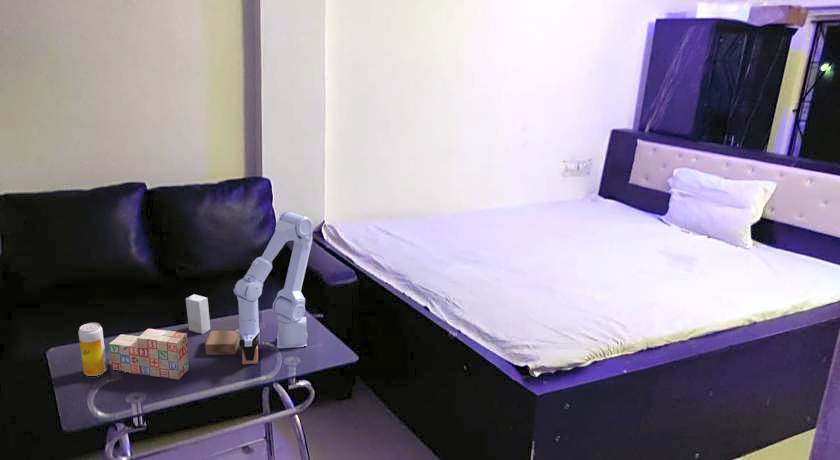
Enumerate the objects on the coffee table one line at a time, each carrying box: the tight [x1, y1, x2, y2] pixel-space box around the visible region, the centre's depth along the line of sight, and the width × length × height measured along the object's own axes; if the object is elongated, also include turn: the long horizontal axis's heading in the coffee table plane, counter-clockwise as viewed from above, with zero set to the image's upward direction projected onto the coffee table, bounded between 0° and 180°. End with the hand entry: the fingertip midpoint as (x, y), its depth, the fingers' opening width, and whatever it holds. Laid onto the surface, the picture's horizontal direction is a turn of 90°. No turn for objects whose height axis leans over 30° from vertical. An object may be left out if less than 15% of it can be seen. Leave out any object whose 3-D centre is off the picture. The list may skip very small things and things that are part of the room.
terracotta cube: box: [241, 344, 259, 365], centre depth 191 cm, size 4×4×5 cm
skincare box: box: [185, 293, 211, 335], centre depth 206 cm, size 6×4×12 cm
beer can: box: [78, 322, 108, 377], centre depth 178 cm, size 6×6×15 cm
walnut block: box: [205, 330, 241, 356], centre depth 197 cm, size 9×9×4 cm
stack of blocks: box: [108, 328, 190, 380], centre depth 181 cm, size 21×6×12 cm, turn 82°
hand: (250, 356), depth 191 cm, fingers closed on terracotta cube, 4 cm apart
